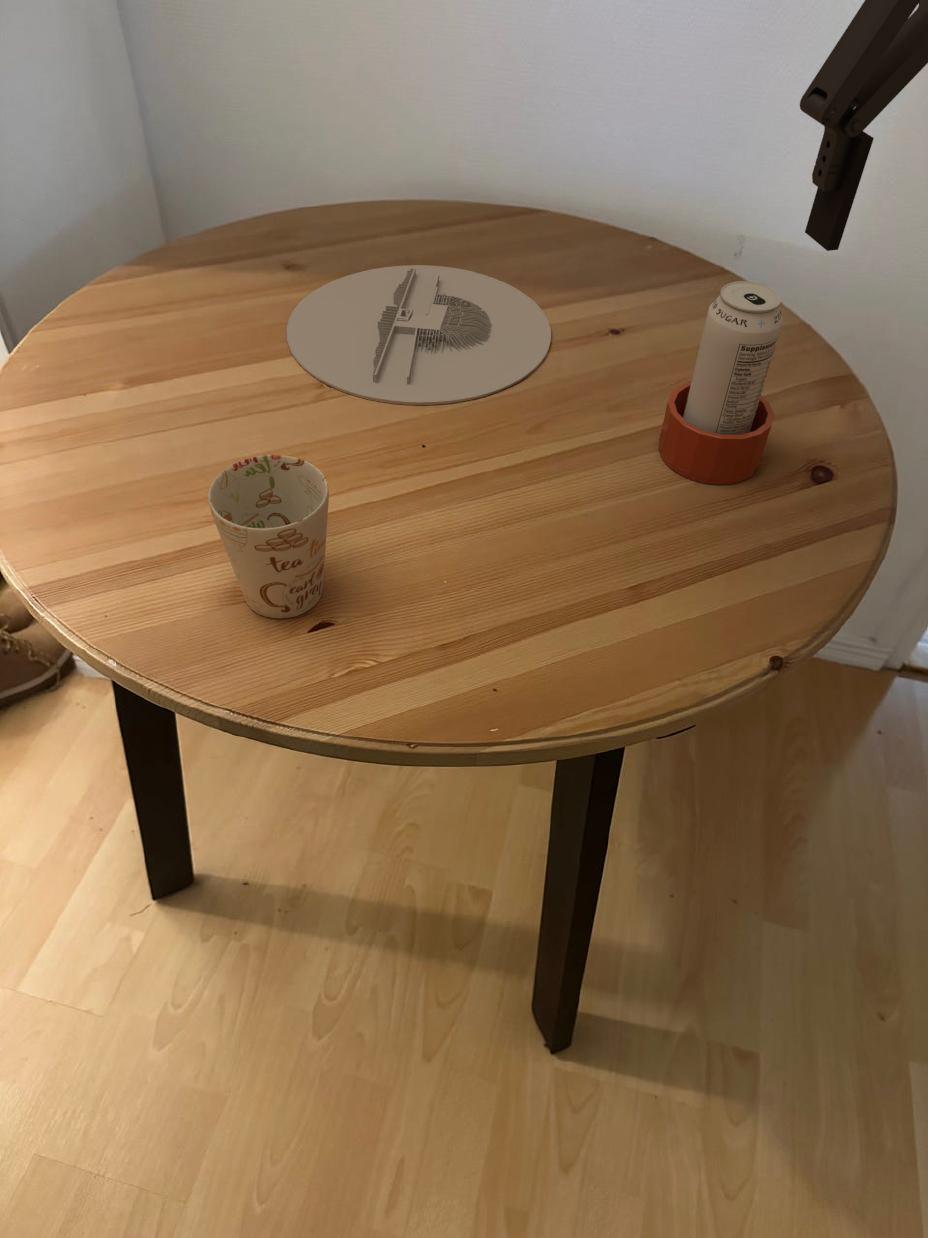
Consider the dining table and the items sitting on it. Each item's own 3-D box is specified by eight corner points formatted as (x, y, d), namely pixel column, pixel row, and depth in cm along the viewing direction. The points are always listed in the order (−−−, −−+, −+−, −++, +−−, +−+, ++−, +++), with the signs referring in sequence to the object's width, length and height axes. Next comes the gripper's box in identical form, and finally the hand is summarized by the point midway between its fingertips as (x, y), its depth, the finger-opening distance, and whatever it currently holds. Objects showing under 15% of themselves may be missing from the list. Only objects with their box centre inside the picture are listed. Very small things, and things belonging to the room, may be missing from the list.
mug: (233, 638, 70) (211, 536, 63) (222, 528, 79) (201, 427, 71) (345, 621, 72) (336, 520, 65) (322, 515, 80) (312, 415, 73)
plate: (325, 256, 112) (324, 246, 111) (561, 281, 110) (563, 271, 109) (251, 386, 93) (250, 376, 92) (536, 420, 91) (537, 409, 90)
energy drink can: (713, 422, 90) (753, 271, 79) (757, 456, 87) (804, 303, 76) (663, 439, 88) (697, 287, 77) (706, 475, 85) (748, 320, 74)
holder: (778, 454, 88) (793, 408, 84) (723, 498, 83) (737, 452, 80) (695, 412, 92) (706, 367, 89) (638, 452, 88) (648, 406, 84)
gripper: (1222, -213, 51) (1037, 192, 66) (809, -219, 46) (712, 223, 61) (1347, -195, 46) (1116, 238, 61) (899, -199, 41) (769, 277, 56)
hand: (914, 231), depth 61 cm, fingers open, 13 cm apart
